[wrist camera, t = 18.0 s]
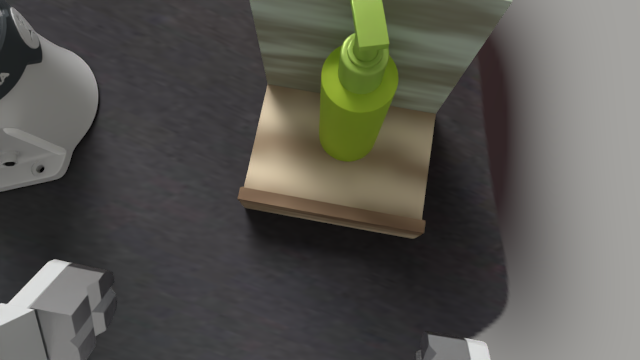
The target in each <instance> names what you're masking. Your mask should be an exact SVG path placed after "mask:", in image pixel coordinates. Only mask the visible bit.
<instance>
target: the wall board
mask: <svg viewBox="0 0 640 360" xmlns="http://www.w3.org/2000/svg"><path fill="white" fill-rule="evenodd" d="M382 3H383V8H384V14H385V19H386V25H387V31H388V38H389V47H388V49H389V55H390V57H391V58H392V59H393V61H394V63H395V65H396V67H397V70H398V86H397V89H396V92H395V94H394V97H393V99H392V102H391V104H390V107H389V109H388V112H387V114H386V116H385V119H384V121H383V124H382V126H381V129H380V131H379V134H378V136H377V138H376V141H375V143H374V146H373V148H372V149H371V151H370V152H369V153H368V154H367V155H366V156H364V157H363V158H361V159H359V160H356V161H350V162H346V161H340V160H337V159H335V158H333V157H331V156H330V155H329V154H328V153H327V152H326V151H325V150H324V149H323V147H322V145H321V143H320V139H319V121H320V93H321V72H322V67H323V64H324V62H325V60H326V59H327V57H328V56H329V55H330V53H331V52H333V51H334V50H335V49H336V48H338V47H340V46H342V44H343V42H344V41H345V39H346V38H347V37H348V36H350V35H351V34H353V33H355V28H354V22H353V16H352V10H351V4H350V0H250V4H251V9H252V13H253V18H254V23H255V27H256V32H257V37H258V41H259V46H260V50H261V55H262V60H263V64H264V69H265V73H266V78H267V83H268V85H267V90H266V94H265V98H264V103H263V107H262V111H261V116H260V120H259V124H258V129H257V133H256V137H255V142H254V146H253V150H252V155H251V159H250V163H249V168H248V172H247V176H246V181H245V185H244V187H240V190H239V195H238V200H239V201H240V202H241V204H242V205H243V206H244V207H245V208H249V209H254V210H260V211H265V212H270V213H276V214H281V215H286V216H292V217H297V218H303V219H308V220H313V221H319V222H324V223H330V224H335V225H340V226H346V227H351V228H357V229H362V230H367V231H373V232H378V233H384V234H389V235H394V236H400V237H405V238H410V239H414V238H416V237H418V236H420V235H422V234H423V233H424V230H425V222H426V221H424V220H422V214H423V207H424V199H425V192H426V184H427V176H428V169H429V161H430V154H431V146H432V138H433V131H434V123H435V116H436V113H437V111H438V110H439V108H440V107H441V105H442V104H443V102H444V101H445V100H446V98H447V97H448V95H449V94H450V92H451V91H452V89H453V88H454V86H455V85H456V83H457V82H458V80H459V79H460V78H461V76H462V75H463V73H464V72H465V70H466V69H467V67H468V66H469V64H470V63H471V61H472V60H473V59H474V57H475V56H476V54H477V53H478V51H479V50H480V48H481V47H482V45H483V44H484V42H485V41H486V39H487V38H488V36H489V35H490V34H491V32H492V31H493V29H494V28H495V26H496V25H497V23H498V22H499V20H500V19H501V18H502V16H503V15H504V13H505V12H506V10H507V9H508V7H509V6H510V4H511V3H512V0H382Z"/></svg>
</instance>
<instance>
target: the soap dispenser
mask: <svg viewBox="0 0 640 360" xmlns="http://www.w3.org/2000/svg"><path fill="white" fill-rule="evenodd" d="M350 4H351V10H352V16H353V22H354V28H355V33H353V34H351V35H350V36H348V37H347V38H346V39H345V41H344V42H343V44H342V46H340V47H338V48H336V49H335V50H334V51H333V52H331V53H330V55H329V56H328V57H327V59H326V60H325V62H324V64H323V67H322V72H321V93H320V121H319V139H320V143H321V145H322V147H323V149H324V150H325V151H326V152H327V153H328V154H329V155H330V156H331V157H333V158H335V159H337V160H340V161H346V162H350V161H356V160H359V159H361V158H363V157H364V156H366V155H367V154H368V153H369V152H370V151H371V149H372V148H373V146H374V143H375V141H376V138H377V136H378V134H379V131H380V129H381V126H382V124H383V121H384V119H385V116H386V114H387V112H388V109H389V107H390V104H391V102H392V99H393V97H394V94H395V92H396V89H397V86H398V70H397V67H396V65H395V63H394V61H393V59H392V58H391V57H390V55H389V49H388V47H389V38H388V31H387V25H386V19H385V14H384V8H383V3H382V0H350Z"/></svg>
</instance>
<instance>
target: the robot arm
mask: <svg viewBox="0 0 640 360" xmlns="http://www.w3.org/2000/svg"><path fill="white" fill-rule="evenodd" d="M97 106H98V88H97V83H96V80H95V77H94V75H93V73H92V71H91V69H90V68H89V66H88V65H87V64H86V63H85V62H84V61H83V60H82V59H81V58H80V57H79V56H77V55H76V54H74V53H73V52H71V51H69V50H67V49H64V48H62V47H59V46H57V45H55V44H53V43H51V42H50V41H48V40H46V39H45V38H43V37H42V36H40V35H39V34H37V33H36V32H35V31H34V30H33V28H32V27H31V26H30V24H29V23H28V22H27V21H26V20H25V19H24V17H23V16H22V15H21V14H20V13H19V12H18V11H17V10H15V9H14V8H13V7H11V6H10V5H9V4H8V3H7V2H6V1H5V0H0V192H2V191H6V190H11V189H15V188H20V187H25V186H29V185H34V184H38V183H43V182H47V181H52V180H56V179H59V178H61V177H62V176H63V175H64V174H65V172H66V171H67V169H68V166H69V163H70V160H71V157H72V153H73V150H74V149H75V147H76V146H77V144H78V143H79V142H80V140H81V139H82V138H83V137H84V135H85V134H86V133H87V131H88V129H89V128H90V126H91V124H92V122H93V120H94V117H95V114H96V111H97ZM42 167H44V171H43V172H42V173H40V169H41V168H42ZM113 283H114V276H113V272H111V271H108V270H103V269H99V268H94V267H90V266H85V265H81V264H76V263H70V262H65V261H61V260H56V259H54V260H51V261H49V262H47V263H46V264H45V265H44V266H43V268H42V269H41V270H40V271H39V272H38V273H37V274H36V275H35V276H34V277H33V278H32V279H31V280H30V281H29V282H28V283H27V284H26V285H25V286H24V287H23V288H22V289H21V290H20V291H19V292H18V293H17V294H16V295H15V297H14V298H13V299H12V300H11V301H10V302H9V303H8V304H3V303H1V304H0V360H86V359H87V358H88V356H89V355H90V353H91V352H92V350H93V349H94V347H95V346H96V338H95V336H96V335H98V334H100V333H102V332H104V331H105V330H106V329H107V328H108V326H109V325H110V323H111V321H112V319H113V316H114V314H115V311H116V305H117V297H116V294H115V292H114V291H113V290H112V289H111V288H110V287H111V286H112V285H113ZM420 345H421V350H419V351H417V352H416V353H415V356H414V359H413V360H491V358H490V354H489V350H488V346H487V344H486V343H485V342H483V341H478V340H473V339H467V338H463V337H457V336H451V335H446V334H440V333H435V332H429V331H425V332H424V333H423V335H422V337H421V340H420Z"/></svg>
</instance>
